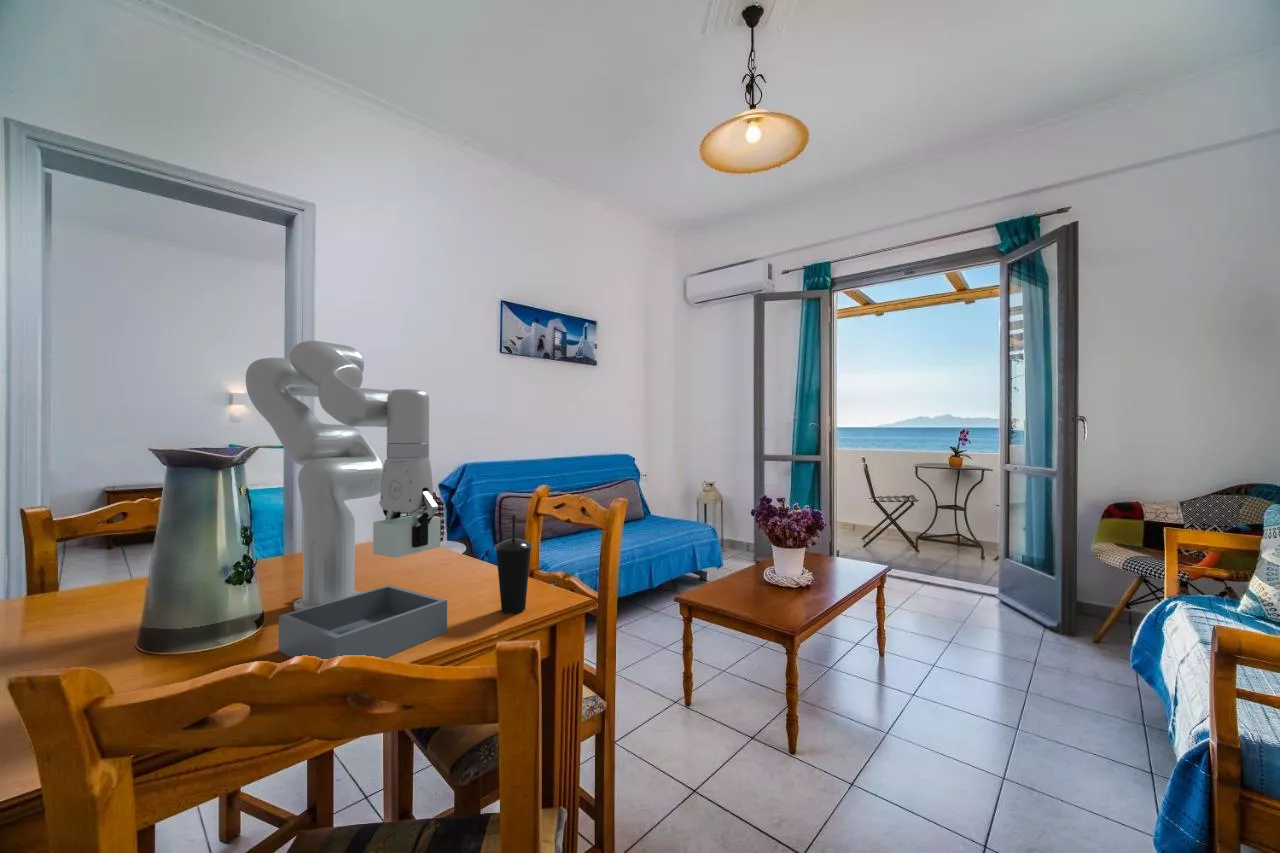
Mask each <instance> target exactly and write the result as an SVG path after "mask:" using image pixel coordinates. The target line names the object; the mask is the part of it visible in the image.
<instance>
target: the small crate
mask: <svg viewBox="0 0 1280 853" xmlns="http://www.w3.org/2000/svg"><path fill="white" fill-rule="evenodd" d="M421 516H422V514H419V518H420V517H421ZM413 526H415V524H414V521H413V517H412V515H407V516H402V517H400V518H394V519H389V520H385V519H383V520H377V521H373V526H372V527H373V529H372V530H373V531H372V537H373V538H372V539H373V541H372V543H373V544H372V553H373V555H377V556H383V557H384V556H385V557H390V558H393V559H394V558H395V559H397V558H401V557H405V556H408V555H409V556H410V555H413V554H416V553H421V552H425V551H428V550H433V549H437V548H441V517H440V516H435V515H434V516H433V518H432V519H431V523H430V524H429V525H428V544H427V545H425V546H420V547H416V548H414V547H412V527H413Z"/></svg>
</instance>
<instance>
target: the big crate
mask: <svg viewBox="0 0 1280 853" xmlns="http://www.w3.org/2000/svg"><path fill="white" fill-rule="evenodd" d="M361 592H362V591H361ZM446 633H448V600H447V599H443V598H440V597H436V596H432V595H428V594H425V593H420V592H418V591H413V590H410V589H406V588H402V587H399V586H396V585H393V584H392V585H391V584H388V585H385V586H380V587H376V588H374V589H370V590H366V591H363V592H362V593H358V594H355V595H351V596H348V597H344V598H341V599H337V600H333V601H330V602H326V603H323V604H319V605H316V606H312V607H308V608H305V609H301V610H298V611H296V610H294V611H290V612H288V613H284V614H280V615H278V642H277V643H278V644H277V646H278V649H277V650H278V652H280V653H281V654H284V655H286V656H288V657H291V658H292V657H295V656H302V655H308V656H316V657H319V658H321V659H330V658H334V657H337V656H343V655H366V656H375V657H380V658H384V659H385V658H389V657H390V656H391V657H392V656H393V655H396V654H397V653H401V652H403V651H405V650H407V649H410V648H412V647H415V646H417V645H420V644H423V643H425V642H427V641H430V640H432V639H436V638H437V637H439V636H442V635H445V634H446Z"/></svg>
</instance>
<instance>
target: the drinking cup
mask: <svg viewBox="0 0 1280 853" xmlns="http://www.w3.org/2000/svg"><path fill="white" fill-rule="evenodd" d="M532 548H533V543H532V542H529V541H528V540H525V539H521V538H516V514H511V538H509V539H505V540H502V541H501V542H499V543H496V544H495V545H494V550H495V551H496V563H497V576H498V586H499V595H500V605H501V612H502V613H503V612H504V613H503V614H506V613H516V614H518V613H517V612H520V613H522V612H521V611H523V610H524V611H525V610H526V605H527V604H526V603H527V594H528V583H529V572H530V571H529V570H530V563H531V562H530V561H531V559H530V558H531V549H532ZM524 611H523V612H524Z"/></svg>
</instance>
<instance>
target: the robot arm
mask: <svg viewBox="0 0 1280 853" xmlns="http://www.w3.org/2000/svg"><path fill="white" fill-rule="evenodd" d="M364 370H365V362H364V358H363V356H362V354H361V353H360V352H359V351H358V350H357V349H356V348H354V347H352V346H349V345H345V344H339V343H332V342H327V341H326V342H325V341H321V340H305V341H301V342H299V343H296V344H295V345H294V346H293V347H292V349H291V351H290V352H289V358H285V357H265V358H259V359H257V360H256V359H255V361H253V362H252V363H250V364H249V366H248V368H246V372H245V386H246V387H245V388H246V392H247V395H248V397H249V399H250V400H249V401H251V404H252V405H253V407H254V408H255V409H256V410H257V411H258V413H259V414H260V415H261V417H263V418H264V419H265V421H267V423H268V424H269V425H270V427H272V430H273V431H274V433H275V435H276V436H277V438H278V440H279V442H280V444H281V445H282V447H283V448H284V450H285V451H286V453H287V455H288V456H289V458H290V459H291V460H292V461H293V462H294V463H295V464H297V465H300V466H302V467H301V469H300V470H299V472H298V475H297V485H298V489H299V495H300V498H301V499H300V500H301V506H302V519H303V520H302V521H303V522H302V524H303V529H302V532H303V535H302V536H303V538H302V540H303V542H302V543H303V545H302V546H303V547H302V548H303V550H302V553H303V555H302V583H301V584H300V588H301V589H302V597H300V598H298V599H297V600H295V602H294V603H293V610H294V611H298V610H301V609H305V608H308V607H312V606H316V605H319V604H323V603H326V602H330V601H333V600H337V599H341V598H344V597H348V596H351V595H355V594H358V593H362V591H360V590H357V589H355V567H356V566H355V560H356V559H355V553H356V551H355V550H356V547H355V545H356V541H355V540H356V538H355V537H356V528H355V527H356V526H355V525H356V523H355V517H354V515H353V513H352V512H351V510H350V509H349V507H348V506H347V504H346V503H345V501H349V500H355V499H356V500H357V499H363V498H365V499H366V498H370V497H374V496H377V495H379V494H380V497H379V498H380V500H379V503H378V504H379V506H380V508H381V509H382V512H383V514H384V516H385V519H384V520H389V519H394V518H400V517H404V516H403V515H404V514H405V513H406V514H410V515H411V516H412V517H413V521H414V524H415V526H413V527H412V547H414V548H416V547H420V546H425V545H427V544H428V525H429V524H430V523H431V519H432V518H433V516H435V514H436V513H437V511H438V509H439V505H438V504H437V502H436V501H435V500H434V499H433V498H434V497H433V496H434V490H433V487H434V486H433V475H432V466H431V460H430V397H429V394H428V393H427V392H426V391H424V390H421V389H411V388H410V389H409V388H406V389H404V388H400V389H399V388H398V389H393V390H387V389H375V388H367V387H366V388H365V387H361V386H362V383H363V378H364V376H363V372H364ZM295 396H303V397H314V398H315V397H317V398H318V400H319V403H320V407H321V408H322V409H323V410H324V412H326V414H328V415H329V416H330V417H332V418H333V419H335V421H337V422H339V423H341V424H328V423H323V422H321V421H319V420H318V418H317V417H316V415H315V414H314V412H313V410H312V409H311V408H310V407H309V406H308V405H306V404H305V403H304V402H302V401H301V400H299V399H298V398H295ZM356 427H359V428H361V427H364V428H365V427H370V428H371V427H379V428H386V459H385V460H384V463H383V461H382V459H381V458H380V456H379V455H378V454H377V452H376V451H375V449H374V448H373V446H372V444H371V443H370V442H369V440H368V439H367V437H366V435H364V433H363V432H362V431H361V430H360V429H358V428H356ZM420 514H421V515H422V516H421V517H420V518H419V515H420Z"/></svg>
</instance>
